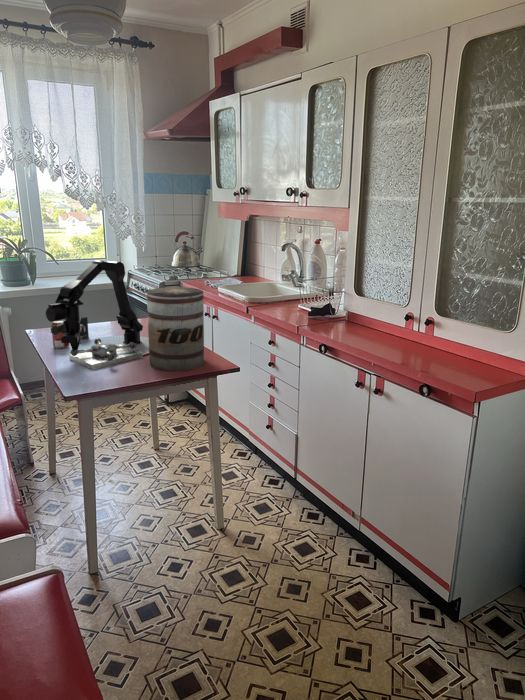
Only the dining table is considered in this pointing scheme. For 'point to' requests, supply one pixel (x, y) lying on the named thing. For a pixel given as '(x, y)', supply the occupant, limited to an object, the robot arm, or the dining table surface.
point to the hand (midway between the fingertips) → (75, 353)
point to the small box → (85, 323)
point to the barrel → (175, 328)
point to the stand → (98, 362)
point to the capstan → (103, 349)
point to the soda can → (58, 337)
